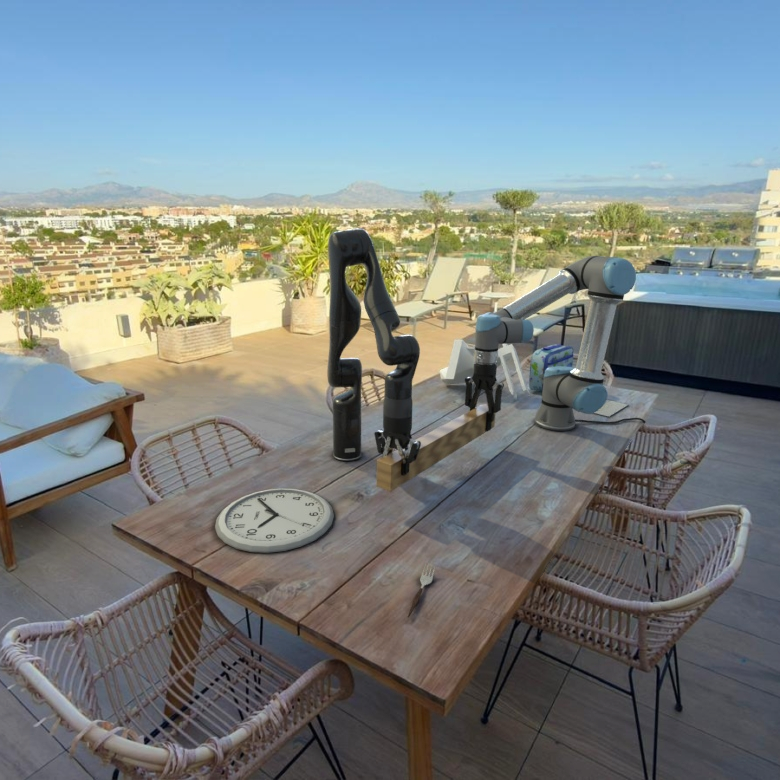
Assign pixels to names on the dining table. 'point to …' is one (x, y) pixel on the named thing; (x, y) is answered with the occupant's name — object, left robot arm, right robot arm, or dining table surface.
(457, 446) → the post
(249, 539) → the wall clock
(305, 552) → the dining table surface
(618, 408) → the invitation card
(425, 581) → the fork
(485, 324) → the right robot arm
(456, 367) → the white plastic object
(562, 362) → the lunch box
